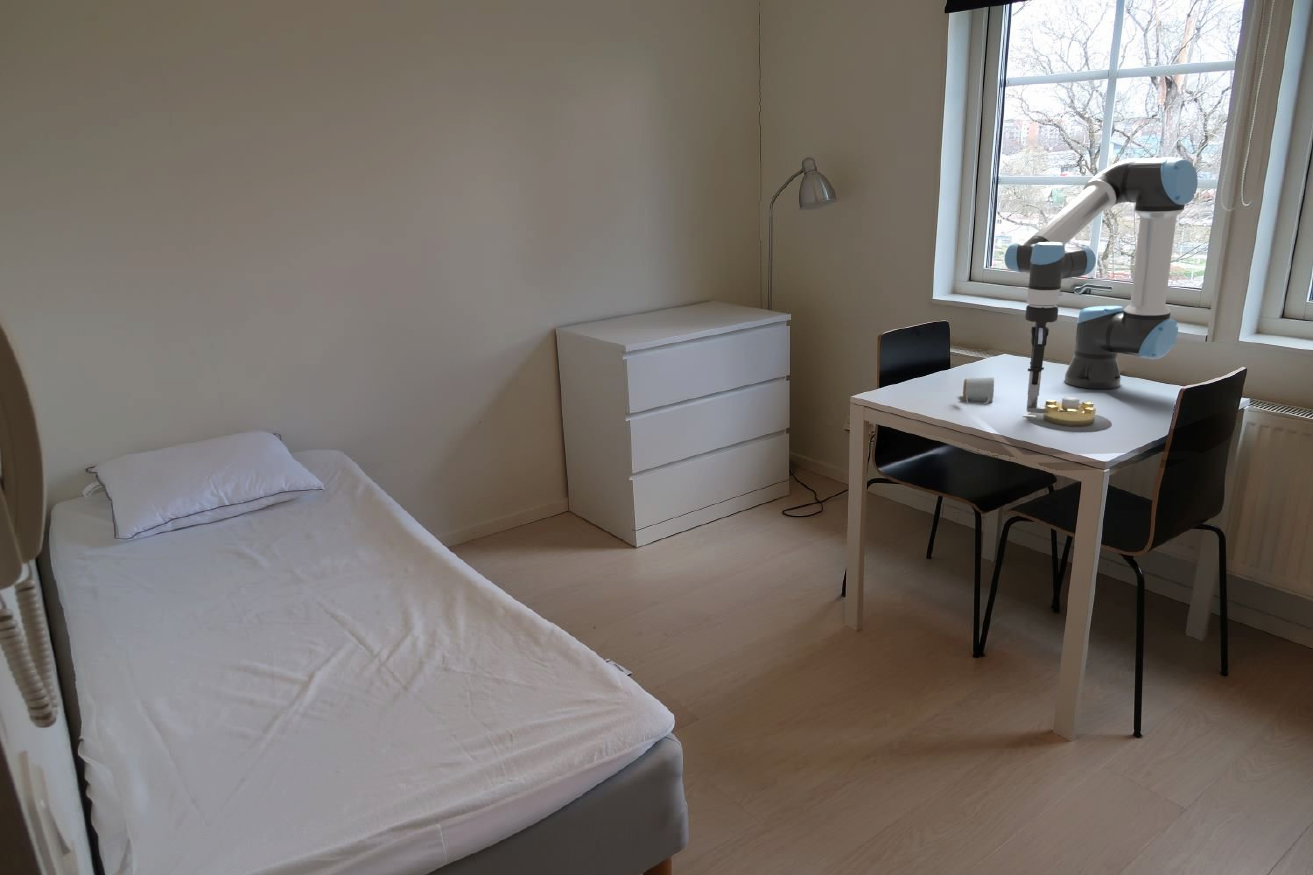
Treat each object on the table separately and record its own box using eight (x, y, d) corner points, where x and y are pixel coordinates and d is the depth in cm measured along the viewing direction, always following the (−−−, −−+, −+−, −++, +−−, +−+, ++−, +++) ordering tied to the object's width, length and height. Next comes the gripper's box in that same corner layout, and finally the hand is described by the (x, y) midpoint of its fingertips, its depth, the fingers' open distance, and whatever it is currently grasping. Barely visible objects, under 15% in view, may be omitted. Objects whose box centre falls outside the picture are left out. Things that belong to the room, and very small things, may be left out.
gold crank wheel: (1091, 414, 228) (1095, 381, 226) (1097, 427, 218) (1101, 393, 215) (1024, 410, 234) (1028, 378, 231) (1026, 423, 223) (1030, 390, 220)
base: (1088, 413, 235) (1092, 388, 233) (1126, 436, 216) (1130, 409, 214) (1014, 415, 235) (1016, 390, 233) (1044, 438, 216) (1047, 411, 214)
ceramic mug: (962, 398, 252) (964, 373, 250) (993, 400, 249) (995, 374, 247) (961, 409, 243) (963, 382, 240) (992, 411, 240) (994, 384, 238)
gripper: (1060, 310, 214) (1049, 402, 222) (1057, 301, 226) (1047, 389, 233) (1027, 309, 217) (1018, 400, 224) (1025, 300, 228) (1017, 387, 236)
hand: (1033, 394), depth 229 cm, fingers closed
